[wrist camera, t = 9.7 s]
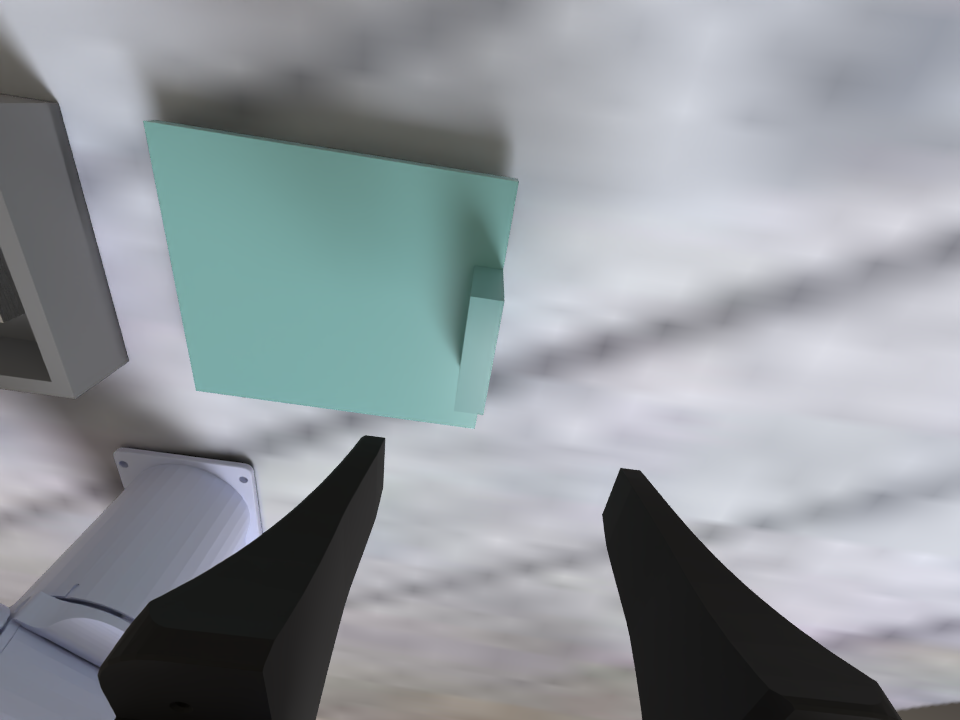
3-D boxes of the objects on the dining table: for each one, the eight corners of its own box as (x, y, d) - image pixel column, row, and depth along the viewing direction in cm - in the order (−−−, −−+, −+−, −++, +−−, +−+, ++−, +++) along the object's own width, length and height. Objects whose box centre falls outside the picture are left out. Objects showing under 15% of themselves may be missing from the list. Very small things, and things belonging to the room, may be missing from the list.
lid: (476, 408, 25) (471, 478, 20) (215, 372, 24) (149, 435, 20) (516, 175, 19) (523, 198, 14) (173, 119, 18) (64, 124, 14)
